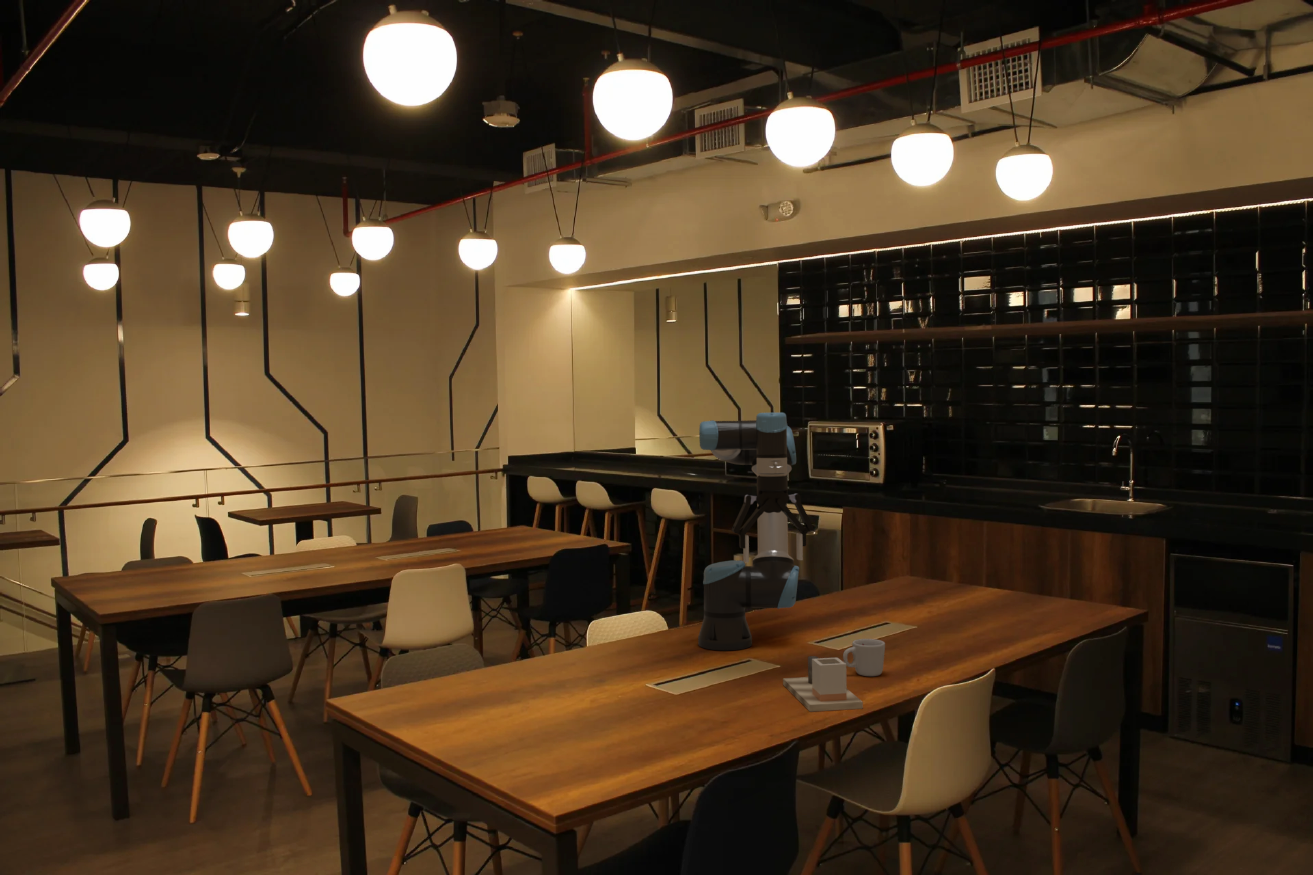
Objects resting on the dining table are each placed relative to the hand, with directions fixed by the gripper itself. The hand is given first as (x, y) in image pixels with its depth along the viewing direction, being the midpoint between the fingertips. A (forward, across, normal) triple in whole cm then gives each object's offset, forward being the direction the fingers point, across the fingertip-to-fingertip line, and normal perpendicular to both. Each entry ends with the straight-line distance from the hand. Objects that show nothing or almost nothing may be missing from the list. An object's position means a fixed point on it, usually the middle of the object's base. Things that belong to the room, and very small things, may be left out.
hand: (773, 560), depth 247 cm
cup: (+29, +22, -3) cm, 36 cm away
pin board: (+29, +6, -19) cm, 35 cm away
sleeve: (+27, +6, -25) cm, 37 cm away
